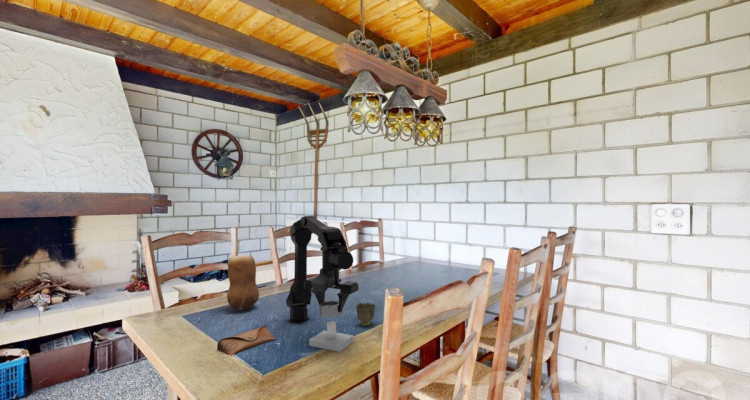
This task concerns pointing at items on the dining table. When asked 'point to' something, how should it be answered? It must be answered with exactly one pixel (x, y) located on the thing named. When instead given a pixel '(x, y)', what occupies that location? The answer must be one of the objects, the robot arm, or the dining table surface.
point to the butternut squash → (242, 282)
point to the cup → (365, 313)
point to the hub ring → (330, 308)
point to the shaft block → (331, 339)
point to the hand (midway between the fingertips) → (331, 310)
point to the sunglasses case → (244, 341)
